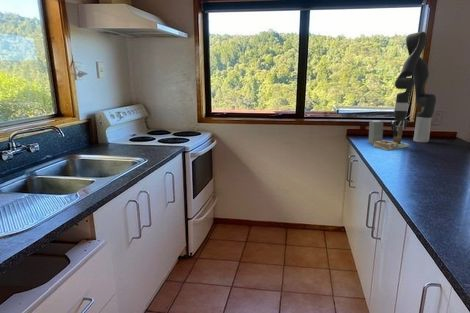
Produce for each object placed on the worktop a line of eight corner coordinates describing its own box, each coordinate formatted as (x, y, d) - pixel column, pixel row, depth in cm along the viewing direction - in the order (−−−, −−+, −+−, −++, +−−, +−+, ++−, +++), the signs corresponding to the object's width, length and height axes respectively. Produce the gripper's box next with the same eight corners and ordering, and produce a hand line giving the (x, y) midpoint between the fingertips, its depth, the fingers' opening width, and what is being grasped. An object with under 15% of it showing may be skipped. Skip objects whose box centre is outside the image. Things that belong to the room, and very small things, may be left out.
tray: (394, 144, 219) (394, 141, 218) (408, 147, 210) (408, 144, 210) (384, 146, 214) (385, 142, 214) (398, 149, 206) (398, 145, 205)
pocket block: (383, 146, 214) (384, 140, 213) (397, 149, 205) (398, 142, 204) (373, 147, 209) (374, 141, 208) (386, 150, 201) (387, 144, 200)
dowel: (395, 142, 215) (398, 124, 212) (402, 143, 211) (404, 125, 208) (391, 142, 213) (393, 124, 210) (397, 144, 209) (399, 125, 206)
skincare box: (382, 145, 217) (385, 121, 213) (371, 145, 217) (374, 121, 213) (377, 142, 225) (379, 119, 221) (366, 142, 225) (369, 119, 221)
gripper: (402, 108, 213) (399, 134, 217) (388, 109, 206) (385, 136, 210) (413, 109, 207) (409, 136, 211) (399, 110, 200) (395, 138, 204)
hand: (397, 136), depth 211 cm, fingers closed on dowel, 4 cm apart
